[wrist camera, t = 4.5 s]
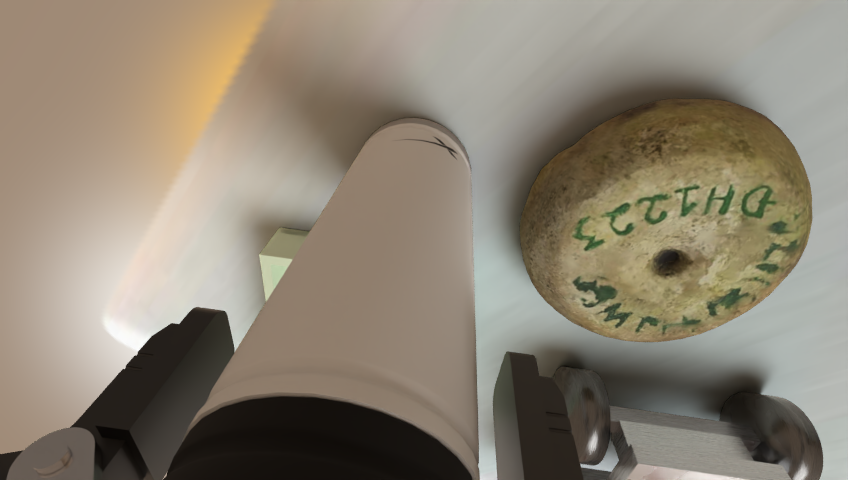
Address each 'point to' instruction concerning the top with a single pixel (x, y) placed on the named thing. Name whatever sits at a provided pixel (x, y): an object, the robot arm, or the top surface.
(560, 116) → the top surface
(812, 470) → the trolley
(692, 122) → the weight
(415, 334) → the travel mug
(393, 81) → the top surface
